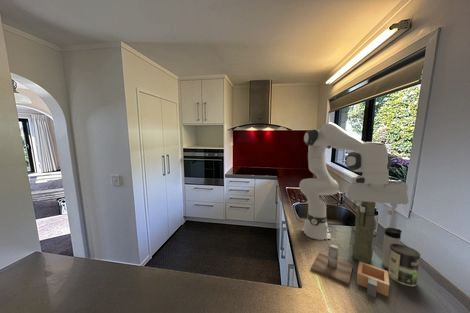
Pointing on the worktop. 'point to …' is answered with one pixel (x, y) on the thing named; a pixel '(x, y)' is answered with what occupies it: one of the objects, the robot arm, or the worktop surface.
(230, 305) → the worktop surface
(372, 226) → the thermos
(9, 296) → the worktop surface
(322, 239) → the robot arm
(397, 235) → the travel mug
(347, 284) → the post base
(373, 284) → the collar
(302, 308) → the worktop surface
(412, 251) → the coffee can
